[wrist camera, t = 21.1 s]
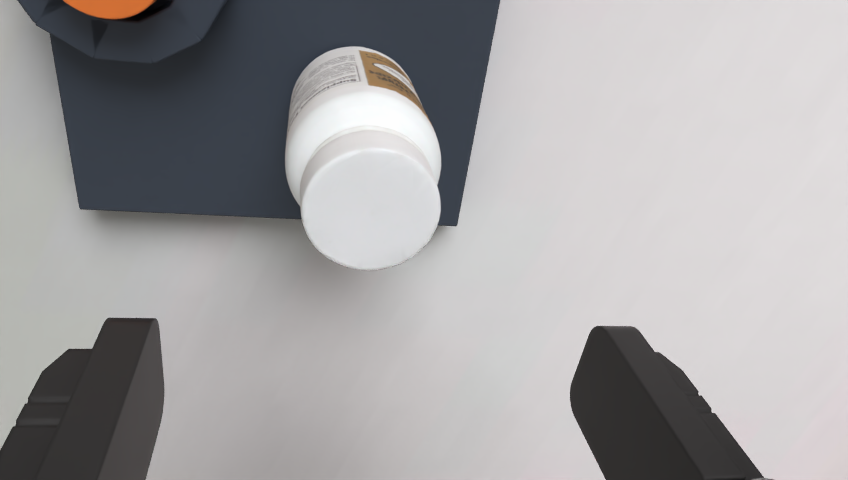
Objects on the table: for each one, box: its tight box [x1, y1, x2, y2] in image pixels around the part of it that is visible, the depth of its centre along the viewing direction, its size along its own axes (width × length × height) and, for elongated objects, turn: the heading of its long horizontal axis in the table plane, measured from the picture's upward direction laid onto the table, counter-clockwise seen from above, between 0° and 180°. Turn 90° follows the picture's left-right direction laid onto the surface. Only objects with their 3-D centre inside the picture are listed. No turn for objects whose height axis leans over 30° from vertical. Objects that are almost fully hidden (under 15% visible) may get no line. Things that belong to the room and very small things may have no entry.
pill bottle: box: [285, 46, 441, 270], centre depth 18 cm, size 4×4×8 cm
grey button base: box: [18, 0, 500, 226], centre depth 20 cm, size 14×12×3 cm
